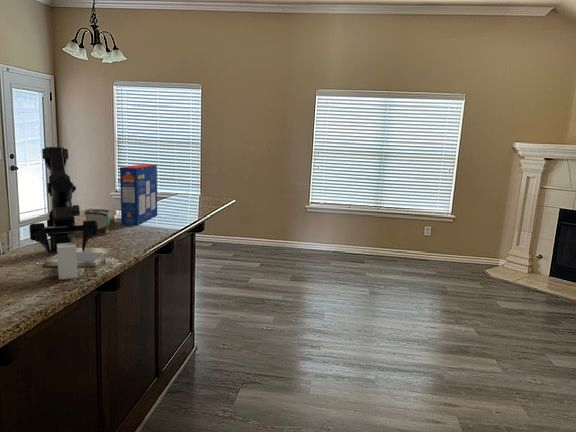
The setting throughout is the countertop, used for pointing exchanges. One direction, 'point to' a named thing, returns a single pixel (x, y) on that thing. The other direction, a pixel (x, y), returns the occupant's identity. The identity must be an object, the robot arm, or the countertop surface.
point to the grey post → (67, 260)
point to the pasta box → (138, 193)
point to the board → (85, 257)
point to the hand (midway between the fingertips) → (66, 252)
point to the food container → (99, 219)
